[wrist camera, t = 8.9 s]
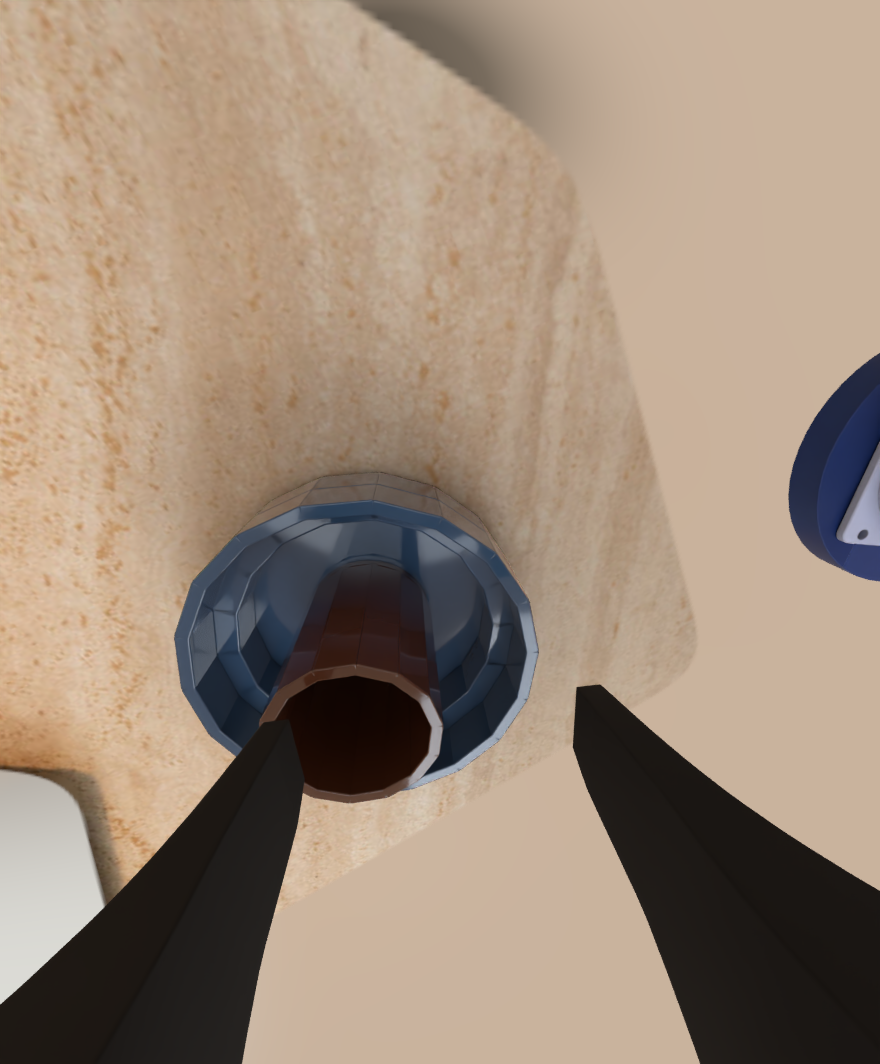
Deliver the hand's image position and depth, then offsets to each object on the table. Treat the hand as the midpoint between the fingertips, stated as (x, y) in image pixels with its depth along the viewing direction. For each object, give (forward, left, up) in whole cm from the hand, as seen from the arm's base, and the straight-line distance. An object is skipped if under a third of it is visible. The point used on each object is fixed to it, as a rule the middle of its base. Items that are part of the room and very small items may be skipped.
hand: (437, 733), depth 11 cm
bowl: (+2, +2, -9) cm, 10 cm away
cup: (+2, +2, -9) cm, 9 cm away
